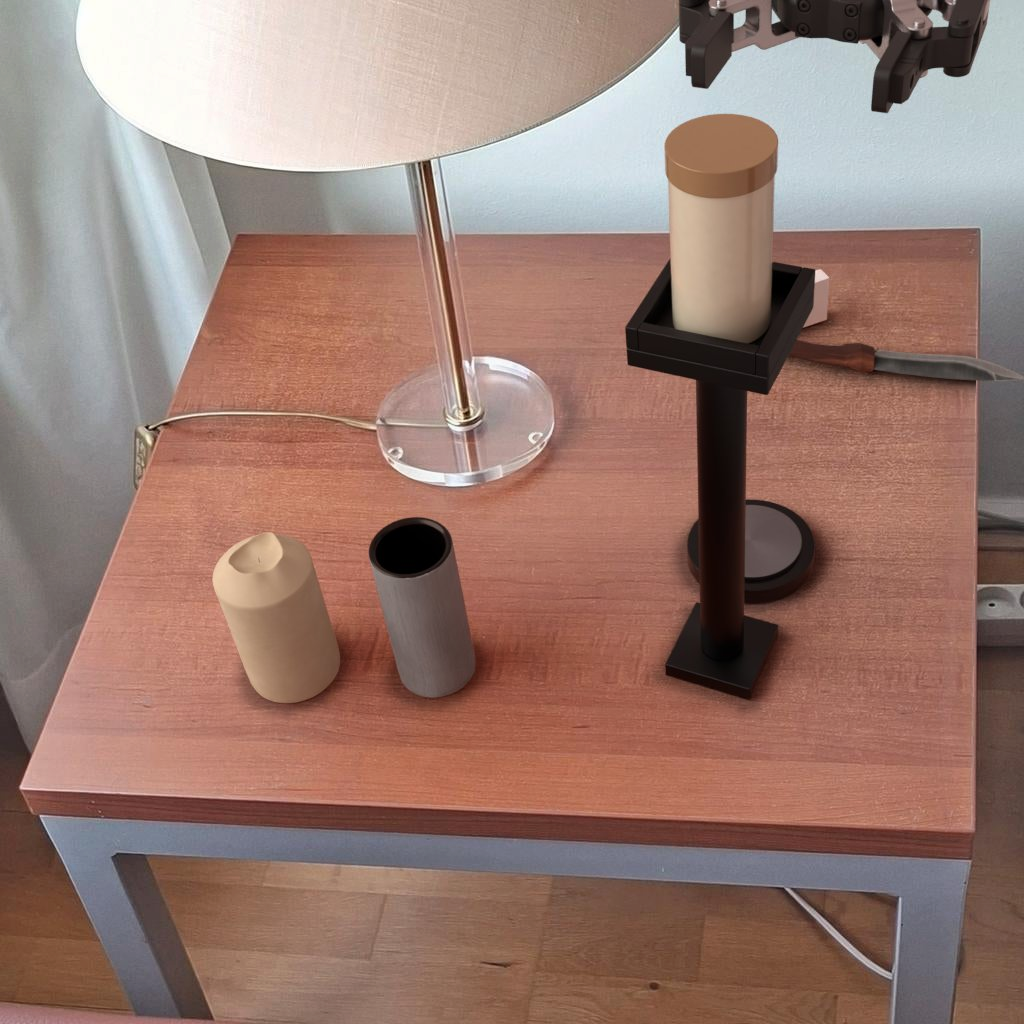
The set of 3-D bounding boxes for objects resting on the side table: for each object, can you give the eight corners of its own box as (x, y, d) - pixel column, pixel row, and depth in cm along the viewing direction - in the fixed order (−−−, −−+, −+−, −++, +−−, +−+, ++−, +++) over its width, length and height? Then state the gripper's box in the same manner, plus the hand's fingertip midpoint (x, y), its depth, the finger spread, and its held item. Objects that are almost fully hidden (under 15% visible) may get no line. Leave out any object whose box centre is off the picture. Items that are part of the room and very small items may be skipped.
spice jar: (786, 298, 64) (793, 121, 58) (753, 359, 62) (756, 180, 55) (691, 280, 66) (687, 106, 60) (655, 339, 63) (647, 163, 57)
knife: (1026, 397, 94) (1026, 372, 96) (1031, 379, 93) (1031, 353, 95) (748, 364, 98) (754, 340, 100) (750, 346, 97) (755, 322, 99)
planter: (488, 649, 83) (466, 526, 76) (455, 707, 80) (428, 586, 73) (420, 629, 85) (392, 507, 77) (385, 686, 82) (352, 565, 75)
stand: (796, 629, 82) (815, 268, 64) (759, 715, 78) (768, 356, 60) (688, 599, 84) (678, 244, 66) (646, 681, 80) (624, 327, 62)
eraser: (827, 319, 101) (829, 277, 98) (766, 341, 100) (767, 298, 97) (818, 310, 102) (820, 268, 99) (758, 331, 101) (758, 289, 98)
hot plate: (830, 529, 87) (831, 512, 86) (791, 618, 82) (792, 601, 81) (712, 500, 90) (712, 483, 89) (668, 584, 85) (668, 567, 84)
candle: (285, 620, 86) (246, 503, 79) (359, 649, 84) (326, 532, 77) (230, 685, 83) (184, 570, 76) (305, 717, 81) (265, 602, 74)
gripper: (754, -151, 74) (637, -14, 64) (1036, -132, 69) (955, 20, 59) (752, -12, 79) (644, 134, 69) (1013, 15, 74) (936, 177, 64)
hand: (787, 81), depth 64 cm, fingers open, 8 cm apart
